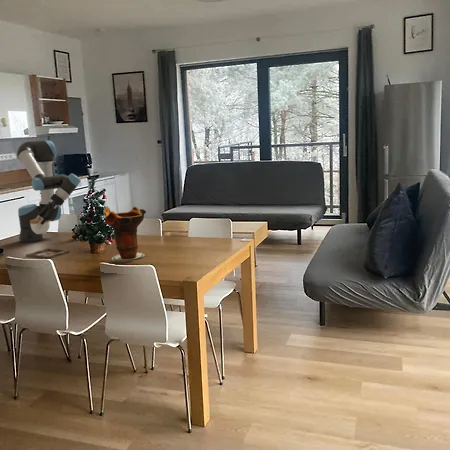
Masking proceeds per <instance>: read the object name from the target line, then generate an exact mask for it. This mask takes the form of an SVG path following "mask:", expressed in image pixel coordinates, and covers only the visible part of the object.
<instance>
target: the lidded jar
mask: <svg viewBox="0 0 450 450" xmlns="http://www.w3.org/2000/svg"><path fill="white" fill-rule="evenodd" d="M41 219H42V218H40V217H38V219H33V220H30V225H31V229H32V230H33V232H35V233H36V234H42V235H44V234H47V233H48V231H49V229H50V226H51V225H50V223H51V221H50V220H47V221H46V222H45V224H44V225H43V226H42V227H41V229H40V230H39V229H37V228H36V225H37V224H38V223H39V222H40V220H41ZM43 219H44V218H43ZM49 221H50V222H49Z"/></svg>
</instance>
